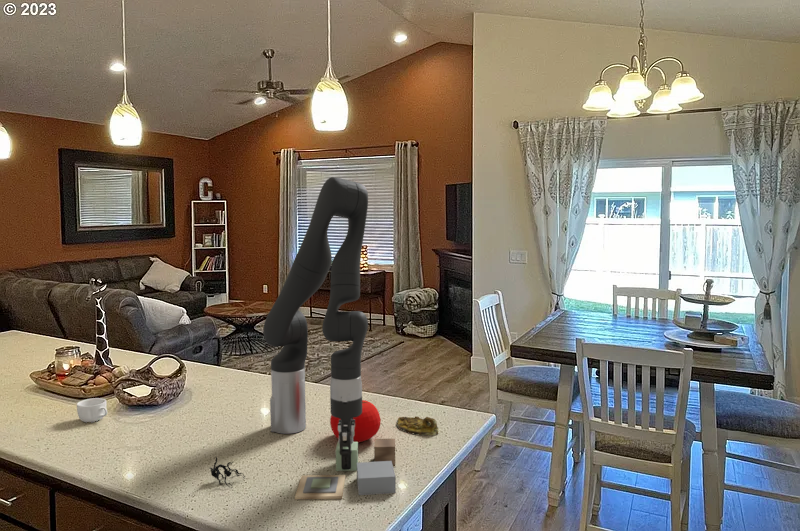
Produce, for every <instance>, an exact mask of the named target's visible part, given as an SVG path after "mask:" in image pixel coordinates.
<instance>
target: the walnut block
mask: <svg viewBox="0 0 800 531" xmlns="http://www.w3.org/2000/svg"><path fill="white" fill-rule="evenodd" d="M373 445H374V448H373V451H374V454H373V456H374V457H373V458H374V461H373V462H378V461H392V464H393V466H395V467H396V438H374V444H373Z"/></svg>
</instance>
